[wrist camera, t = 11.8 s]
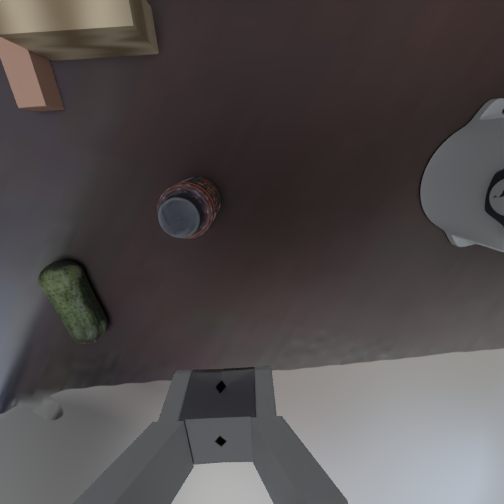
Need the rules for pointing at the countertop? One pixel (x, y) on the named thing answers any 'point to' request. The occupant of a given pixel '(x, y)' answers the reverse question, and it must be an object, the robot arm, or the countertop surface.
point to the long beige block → (79, 27)
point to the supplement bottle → (188, 207)
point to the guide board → (30, 78)
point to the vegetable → (73, 301)
